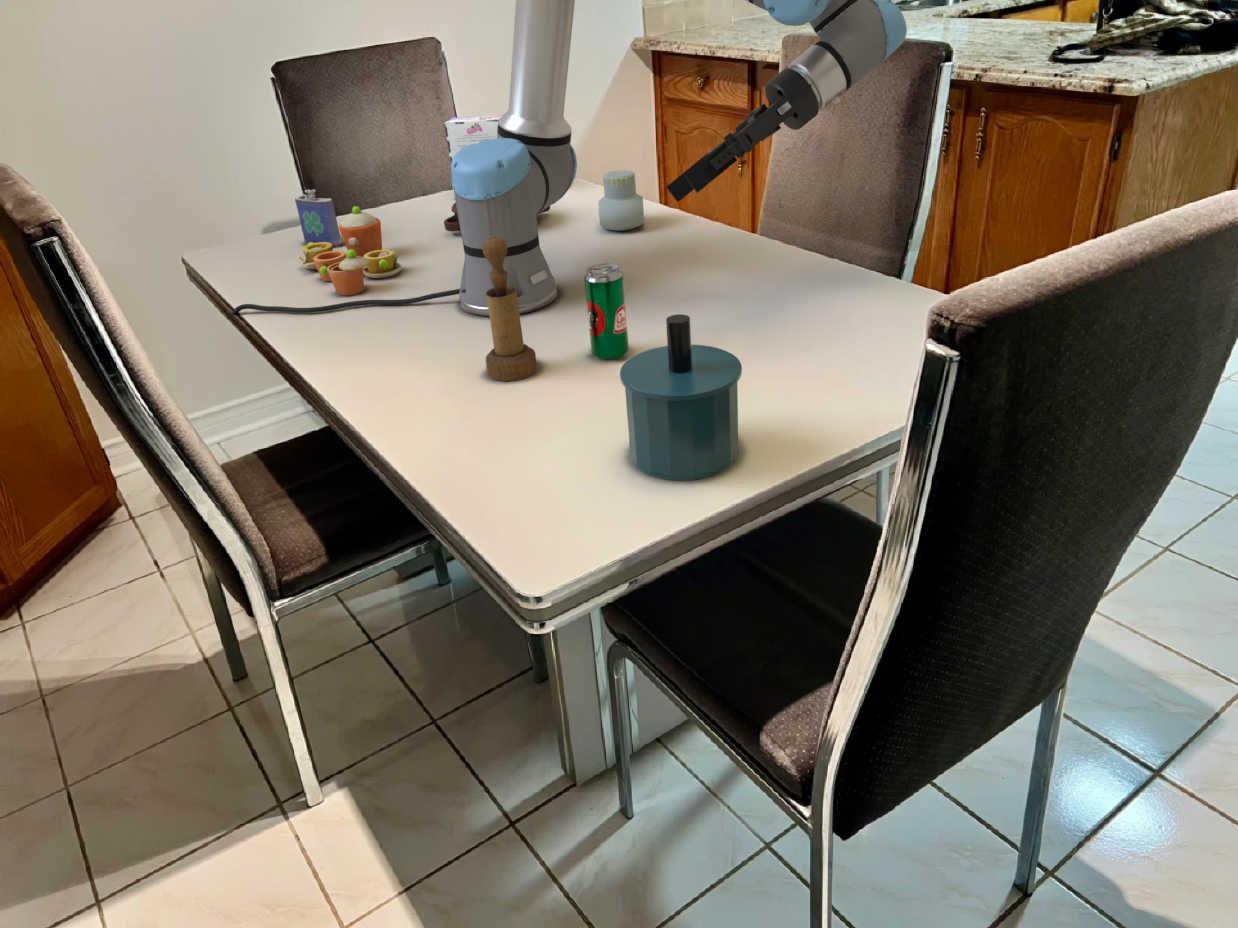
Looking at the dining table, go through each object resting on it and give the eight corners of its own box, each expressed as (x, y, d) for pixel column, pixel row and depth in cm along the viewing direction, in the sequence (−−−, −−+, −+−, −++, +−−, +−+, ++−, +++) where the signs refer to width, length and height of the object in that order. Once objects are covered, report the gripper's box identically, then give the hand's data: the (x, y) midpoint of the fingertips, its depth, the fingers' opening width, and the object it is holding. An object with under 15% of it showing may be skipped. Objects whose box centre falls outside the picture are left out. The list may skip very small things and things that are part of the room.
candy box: (522, 190, 210) (512, 113, 202) (515, 197, 205) (505, 118, 197) (464, 192, 213) (452, 116, 204) (455, 199, 208) (442, 121, 199)
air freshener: (644, 233, 174) (641, 178, 169) (600, 236, 175) (595, 182, 170) (644, 217, 184) (640, 165, 179) (601, 220, 184) (597, 168, 179)
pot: (609, 455, 103) (602, 376, 98) (685, 418, 109) (682, 342, 105) (683, 493, 95) (678, 409, 91) (760, 450, 101) (760, 370, 97)
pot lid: (596, 381, 99) (590, 322, 95) (682, 344, 106) (680, 287, 102) (678, 418, 90) (675, 354, 87) (767, 375, 97) (767, 314, 94)
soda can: (625, 362, 124) (618, 275, 118) (588, 361, 125) (579, 275, 119) (632, 346, 129) (625, 262, 123) (596, 346, 130) (588, 262, 124)
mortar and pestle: (498, 385, 121) (476, 249, 112) (480, 368, 126) (459, 237, 117) (545, 372, 123) (527, 238, 114) (526, 356, 129) (508, 226, 120)
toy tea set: (296, 264, 174) (282, 212, 169) (377, 246, 180) (366, 196, 175) (331, 303, 154) (317, 245, 149) (421, 281, 160) (411, 225, 155)
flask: (345, 243, 184) (332, 188, 178) (334, 248, 181) (321, 192, 176) (311, 240, 188) (298, 186, 182) (300, 244, 186) (286, 190, 180)
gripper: (852, 94, 115) (718, 203, 116) (791, 128, 140) (680, 218, 140) (818, 42, 114) (681, 153, 114) (762, 85, 138) (649, 177, 139)
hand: (680, 189), depth 127 cm, fingers open, 13 cm apart
